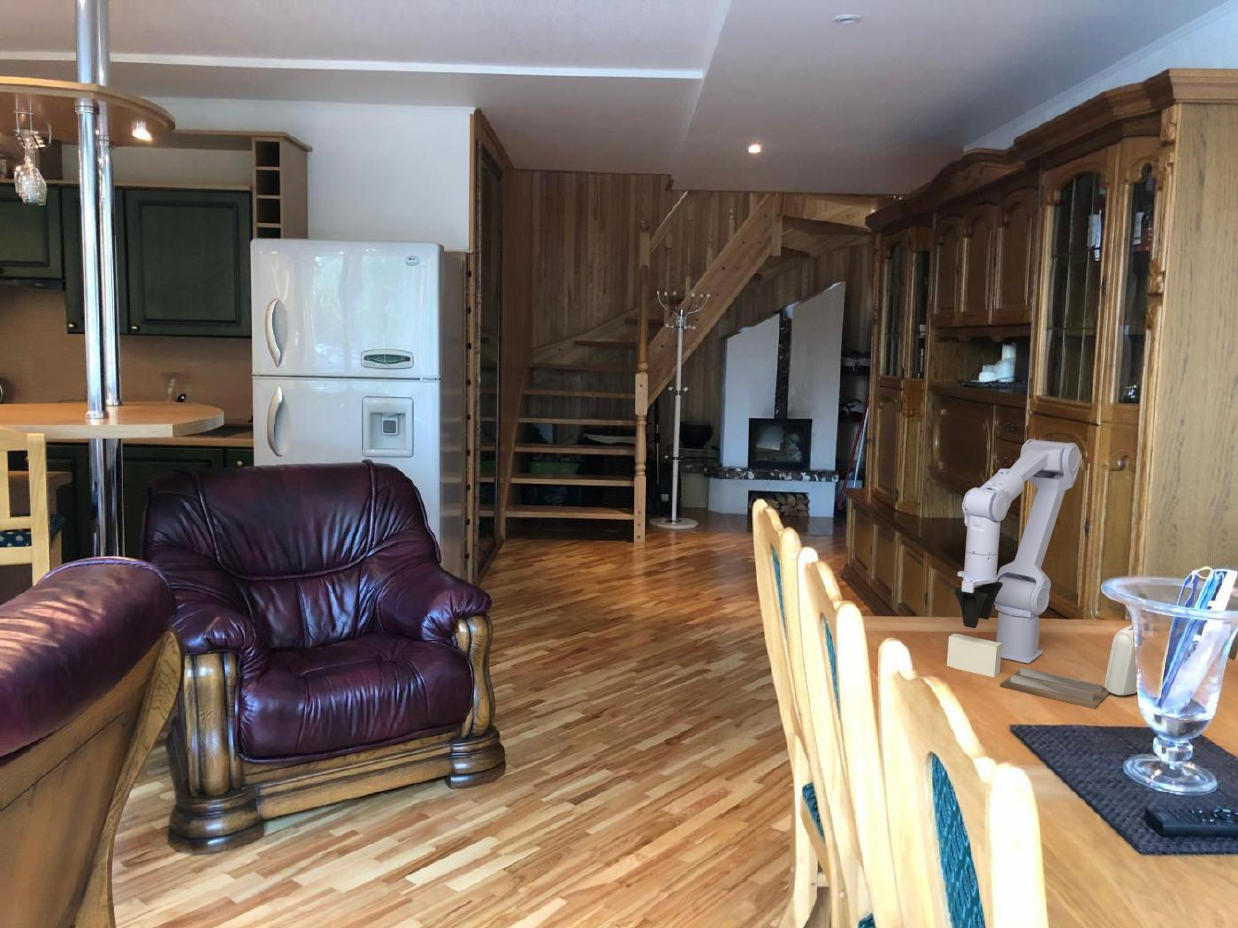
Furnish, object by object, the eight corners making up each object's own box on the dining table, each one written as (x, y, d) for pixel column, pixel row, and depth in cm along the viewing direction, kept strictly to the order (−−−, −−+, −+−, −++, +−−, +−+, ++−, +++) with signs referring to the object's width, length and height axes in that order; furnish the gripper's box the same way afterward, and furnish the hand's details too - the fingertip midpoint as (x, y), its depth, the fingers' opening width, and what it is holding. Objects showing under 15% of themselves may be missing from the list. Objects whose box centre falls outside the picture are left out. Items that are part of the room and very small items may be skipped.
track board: (1020, 670, 186) (1021, 662, 186) (1112, 691, 176) (1112, 682, 176) (999, 686, 177) (1000, 677, 177) (1094, 708, 167) (1095, 699, 167)
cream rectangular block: (952, 663, 190) (954, 633, 189) (999, 673, 184) (1001, 643, 184) (946, 666, 188) (948, 636, 187) (994, 677, 182) (996, 646, 181)
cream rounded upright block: (1130, 681, 181) (1143, 617, 179) (1153, 690, 178) (1166, 625, 176) (1099, 689, 176) (1112, 623, 173) (1122, 698, 172) (1135, 632, 170)
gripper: (972, 543, 191) (967, 610, 193) (947, 554, 180) (942, 626, 181) (1009, 548, 187) (1004, 617, 188) (986, 560, 175) (981, 634, 177)
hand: (976, 622), depth 185 cm, fingers open, 7 cm apart
